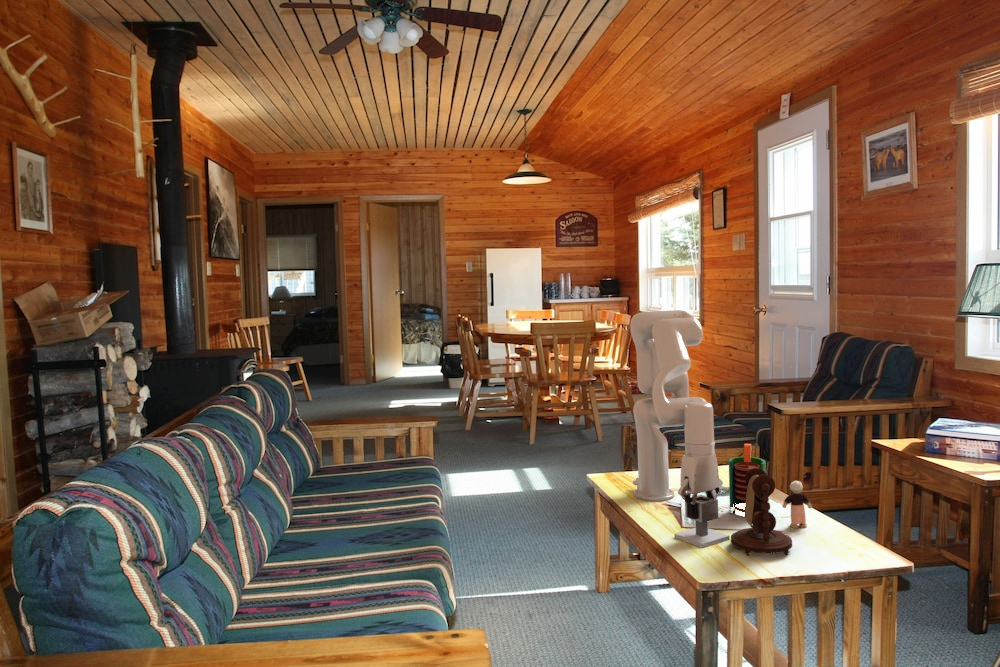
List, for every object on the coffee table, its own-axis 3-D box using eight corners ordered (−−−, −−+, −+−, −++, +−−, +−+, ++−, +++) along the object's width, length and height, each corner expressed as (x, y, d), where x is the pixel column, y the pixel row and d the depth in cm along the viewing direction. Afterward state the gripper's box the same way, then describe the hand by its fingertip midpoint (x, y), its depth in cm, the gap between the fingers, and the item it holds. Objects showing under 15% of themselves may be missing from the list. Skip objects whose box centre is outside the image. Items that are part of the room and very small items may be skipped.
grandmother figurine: (806, 522, 208) (805, 478, 207) (813, 527, 204) (813, 481, 203) (780, 525, 207) (779, 480, 206) (787, 529, 203) (786, 483, 202)
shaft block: (674, 537, 201) (673, 500, 201) (701, 529, 206) (700, 493, 206) (702, 547, 193) (701, 509, 192) (729, 539, 198) (728, 502, 197)
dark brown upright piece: (724, 539, 198) (723, 464, 197) (781, 537, 197) (780, 463, 196) (739, 559, 184) (737, 479, 182) (800, 558, 183) (799, 478, 181)
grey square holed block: (685, 517, 200) (684, 498, 200) (701, 512, 203) (701, 494, 203) (702, 522, 195) (701, 503, 195) (718, 518, 198) (717, 499, 198)
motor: (730, 517, 216) (729, 448, 214) (728, 507, 224) (727, 442, 223) (767, 518, 213) (766, 449, 212) (764, 508, 222) (763, 442, 221)
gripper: (712, 441, 206) (713, 506, 207) (665, 451, 197) (667, 518, 198) (733, 446, 199) (735, 512, 200) (686, 456, 190) (688, 525, 191)
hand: (701, 514), depth 199 cm, fingers closed on grey square holed block, 6 cm apart
